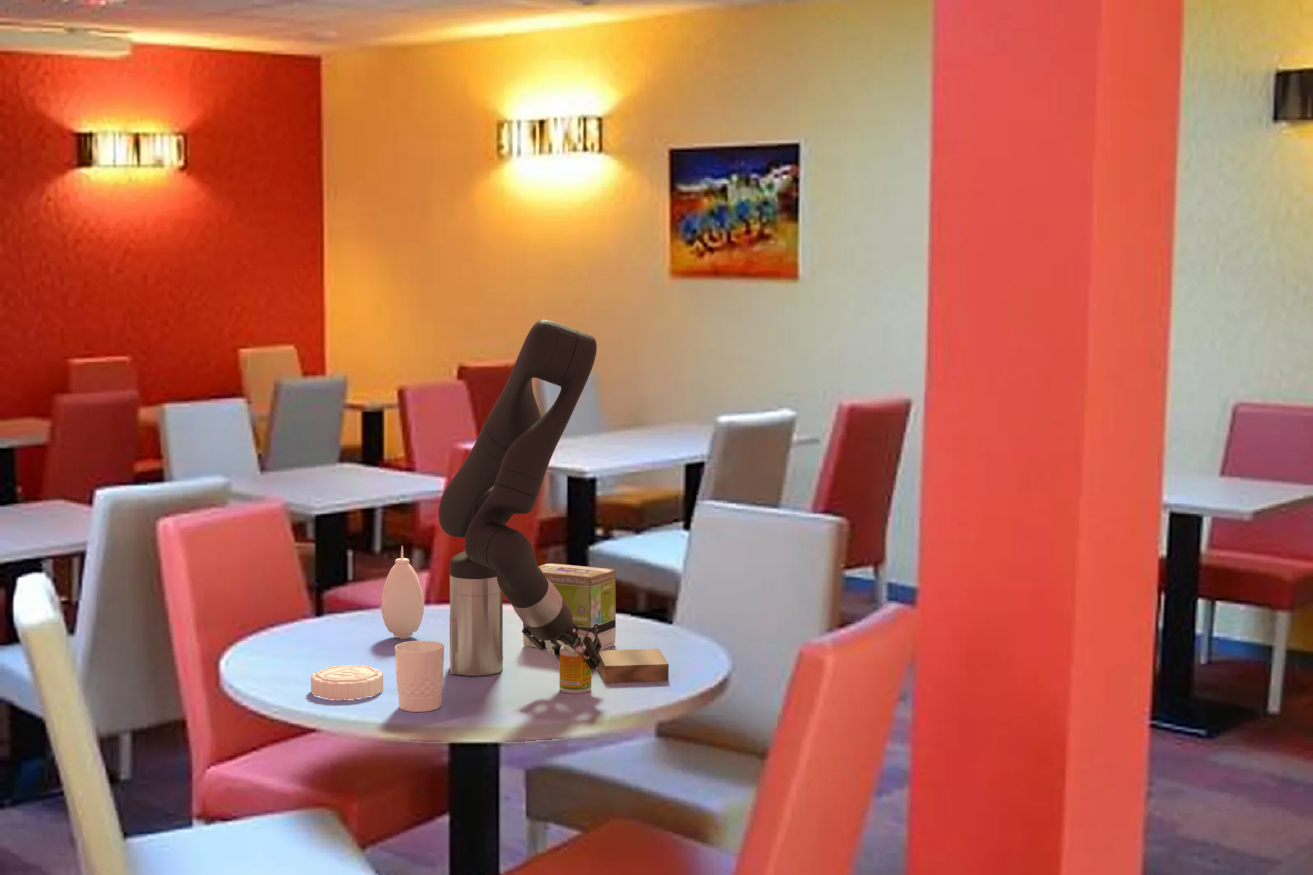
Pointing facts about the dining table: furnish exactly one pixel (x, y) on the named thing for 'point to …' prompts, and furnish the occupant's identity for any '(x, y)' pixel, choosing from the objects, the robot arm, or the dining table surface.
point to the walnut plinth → (633, 666)
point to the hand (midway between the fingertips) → (581, 662)
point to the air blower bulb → (402, 599)
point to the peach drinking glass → (419, 675)
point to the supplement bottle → (574, 672)
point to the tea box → (586, 598)
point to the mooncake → (347, 682)
